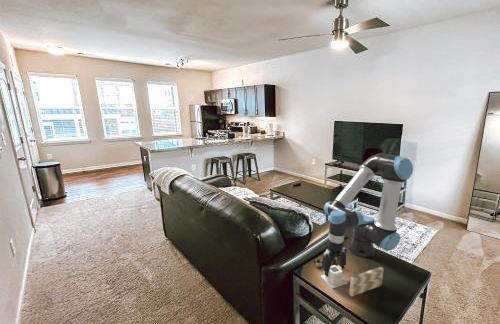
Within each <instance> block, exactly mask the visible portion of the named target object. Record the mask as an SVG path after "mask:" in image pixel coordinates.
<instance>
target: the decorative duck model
mask: <svg viewBox="0 0 500 324" xmlns="http://www.w3.org/2000/svg"><path fill="white" fill-rule="evenodd" d="M328 249H329V248H326V250H325V252H328ZM323 257H324V255H322V259H317V258H314V259H313V260H312V262H313V263H314V264H315V265H317V266H318V267H319V265H320V264H322V263H323ZM335 261H337V262H338V260H337V259H334V260H333V262H332V264H331V266H333V265H334V264H333V263H334V262H335Z"/></svg>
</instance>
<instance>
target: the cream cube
mask: <svg viewBox="0 0 500 324" xmlns="http://www.w3.org/2000/svg"><path fill="white" fill-rule="evenodd" d="M329 271H330V282H331V283H332V284H336V283H339V282H342V278H344V277H343V275H344V274H343V273H344V271H343V270H341V269H339V268H338V267H337V265H336V264H332V265H331V267H330V270H329Z"/></svg>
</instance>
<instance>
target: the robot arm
mask: <svg viewBox="0 0 500 324" xmlns="http://www.w3.org/2000/svg"><path fill="white" fill-rule="evenodd" d="M358 169H359V170H358V171H357V172H356V173H355V174H354V176H353V177H352V178H351V179H350V180H349V181H348V182H347V184H346V185H345V187H344V188H343V189H342V190H341V191H340V192H339V194H338V195H337V196H336V197H335V198H334V200H332V201H327V202H326V203H325V204H324V206H323V211H324V213H325V214H327V216H329V223H328V224H329V226H328V228H329V229H328V241H327V247H328V248H327V249H328V252H326V251H323V253H322V254H323V255H324V257H323V255H322V259H323V263H321V264H322V265H321V269H322V271H324V274H325V280H326V281H327V282H328V283H329V282H330V271H329V270H330V267H331V266H332V265H333V264H332V262H333V263H334V261H333V260H336V261H337V260H338V261H337V263H338V265H336V266H337V267H338V268H339V269H341V270H342V271H343V270H344V269H345V266H347V251H348V249H349V251H350V253H352V254H353V255H356V256H357V257H362V258H372V257H374V255H375V253H376V251H375V246H378V247H379V248H380V249H382V250H384V251H390V252H391V251H392V250H394V249H395V248H396V247H397V246H398V245H399V243H400V240H401V235H400V234H399V232H397V229H398V228H397V226H396V225H395V223H396V218H397V211H398V206H399V200H400V196H401V190H402V184H404V183H406V180H408V179H410V178H411V177H412V176H413V171H414V167H413V162H412V161H411V159H409V158H408V157H405V156H401V155H394V154H386V153H377V154H373V155H371V156H370V157H368V158H367V159H366V160H365V161H363V162H362V163H361V165H359V168H358ZM377 174H381V178H380V179H382V181H383V185H382V189H381V190H382V191H381V196H380V202H379V203H380V204H379V209H378V214H377V220H375V218H374V217H372V216H368V215H364V214H363V213H362V212H361V211H359V210H352V211H351V210H349V209H347V207H348V205H350V203H351V202H352V201H353V200H354V199H355V197H356V196H357V195H358V194H359V192H360V191H361V190H362V188H363V187H364V186H365V185H366V184H367V183H368V182H369V180H370V179H371V178H373V177H375V176H376V175H377ZM349 228H352V238H351V240H350V243H348V249H347V248H346V247H344V244H345V243H344V241H345V233H346V232H345V230H346V229H349ZM374 245H375V246H374ZM335 258H336V259H335ZM331 264H332V265H331ZM325 280H324V281H325ZM326 281H325V282H326ZM327 282H326V283H327ZM328 283H327V284H328Z"/></svg>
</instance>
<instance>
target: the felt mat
mask: <svg viewBox="0 0 500 324" xmlns="http://www.w3.org/2000/svg"><path fill="white" fill-rule="evenodd" d="M320 278H321V279H322V280H323V281H325V283H326V284H327V285H329V287H331V289H336V288H338V287H341V286H345V285H347V284H349V282H348V281H347V280H345V278H344V277H342V282H339V283H336V284H332V283H331V282H329V283H328V282H327V281H326V280H325V273H324V274H322V275H320Z"/></svg>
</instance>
